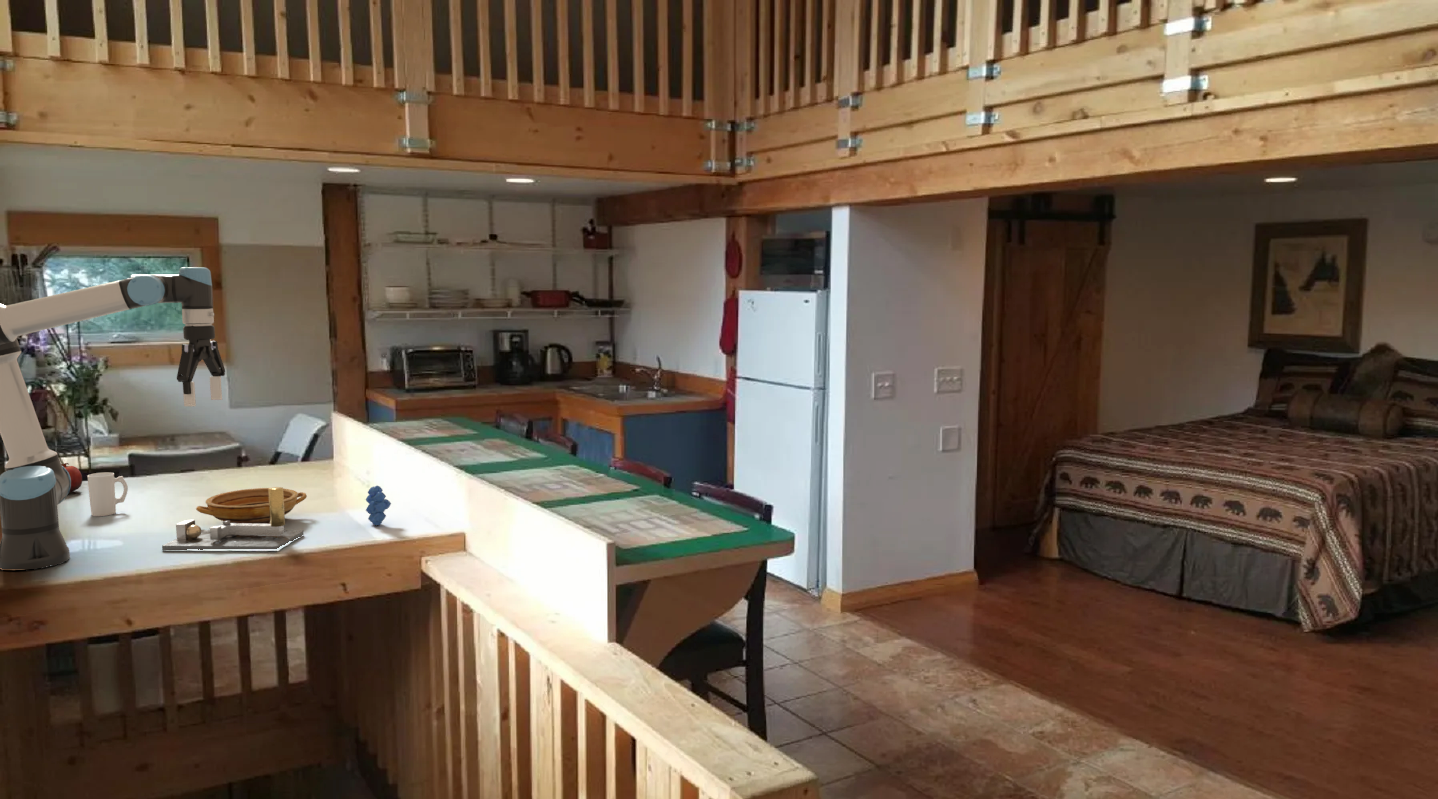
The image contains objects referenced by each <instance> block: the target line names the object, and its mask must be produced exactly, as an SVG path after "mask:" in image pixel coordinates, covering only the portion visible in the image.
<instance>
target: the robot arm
mask: <svg viewBox="0 0 1438 799" xmlns="http://www.w3.org/2000/svg"><path fill="white" fill-rule="evenodd" d="M178 270H179V271H178V274H151V273H150V274H147V273H139V274H131V275H129V276H128V278H124V279H121V280H114V281H110V282H105V283H100V284H98V285H93V286H88V287H84V288H83V287H82V288H80V289H75V290H71V291H66V292H61V293H57V294H52V295H49V296H43V297H40V298H35V299H31V300H25V301H21V302H16V303H12V304H8V305H4V304H2V303H0V437H1V440H2V441H3V445H4V448H5V450H6V453H7V456H8V461H7V462H6V464H5V465H4V468H5V471H4V472H2V473H1V474H0V525H1V534H2V535H1V536H2V537H1V540H0V568H2V569H34V570H37V569H36V568H41V569H43V568H42V567H46V566H50V565H54V566H58V565H61V564H63V563H65V562H64V561H66V562H67V561H69V560H70V559H71V554H70V548H69V547H68V545H67V542H66V540H65V538H64V536H63V534H62V532H61V530H60V525H59V524H60V523H59V513H58V512H59V511H58V505H59V504H61V503H62V502H63V501H64V500H65V499H66V498H67V496H68V494H70V492H69V490H70V487H71V478H70V475H69V473H68V471H67V470H66V469H65V468H64V467H63V466H62V465H61V464H62V463H61V460H60V457H59V454H58V453H57V452H56V450H55V451H54V450H52V449H50V448H49V446H48V444H47V442H46V438H45V436H44V434H43V430H42V427H41V424H40V422H39V419H38V416H37V413H36V411H35V407H34V405H33V401H32V399H31V395H30V394H29V391H28V388H27V385H26V381H25V379H24V377H23V374H22V371H21V367H20V364H19V363H18V358H19V356H20V355H21V354H22V350H21V346H20V343H19V341H18V339H17V338H18V337H20V336H24V335H27V334H32V333H36V332H40V331H45V330H49V329H53V328H58V327H62V326H65V325H70V324H75V323H79V322H82V321H86V320H92V319H95V318H99V317H103V316H104V317H105V316H107V315H111V314H116V313H120V312H125V311H128V310H132V309H138V308H142V307H146V306H152V305H156V304H168V303H169V304H171V303H173V304H174V303H175V304H177V303H178V304H179V303H180V305H181V315H182V316H181V317H182V324H184V326H183V327H182V332H183V333H182V334H183V339H184V340H185V341H188V343H186V344H185V343H183V344H182V345H181V355H180V360H179V365H178V370H177V374H176V380H177V382H179V383H182V392H183V394H182V395H183V406H184V407H196V406H197V404H196V387H195V381H193V379H194V377H195V375H196V374H195V373H196V370H197V368H198V365H199V363H200V362H202V361H203V362H204V364H205V366H206V367H207V369H208V372H209V373H210V376H209V386H210V390H209V391H210V400H211V401H212V400H214V401H219V400H220V401H222V400H223V395H222V394H223V392H222V378H221V377H224V376H225V375H226V368H225V365H224V362H223V359H222V356H221V353H220V350H219V344H218V341H216V340H214V339H216V333H215V332H216V328H215V326H214V325H213V324H214V323H215V321H214V320H215V319H214V318H215V313H214V296H213V295H214V294H213V282H212V273H211V270H210V269H209V268H208V267H203V266H202V267H199V266H198V267H197V266H193V267H190V266H189V267H188V266H187V267H185V266H183V267H180V268H179V269H178ZM69 558H70V559H69ZM68 559H69V560H68ZM62 562H63V563H62ZM60 563H61V564H60ZM57 564H58V565H57ZM50 567H51V566H50ZM46 568H47V567H46Z"/></svg>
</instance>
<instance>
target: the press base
mask: <svg viewBox="0 0 1438 799" xmlns="http://www.w3.org/2000/svg"><path fill="white" fill-rule="evenodd" d="M175 532H176V533H175V534H176V538H175V539H173V540H171V541H169V542H167V543H165V544H162V550H187V549H198V550H199V549H200V550H203V549H277V548H279V547H280V546H282V545H285V544H286V543H288V542H289V541H293V540H294V539H296V538H298V537H301V536H302V535H305V534H304V530H285V529H284V533H283V534H281V535H227V536H225V537H223V538H221V539H219V540H210V529H201V527H200V526H199V525H197V524H196V519H185V520H182V521H180V522H177V523H176V524H175ZM301 538H302V537H301ZM162 550H161V551H162Z"/></svg>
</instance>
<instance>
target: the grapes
mask: <svg viewBox="0 0 1438 799" xmlns="http://www.w3.org/2000/svg"><path fill="white" fill-rule="evenodd" d="M367 494H368V495H367V497H366V499H365V501H366V502H367V503H368V506H367V507H366V509H365V511H366V513H367V514H369V516H368V518H367V519H368V521H369V522H370V523H372V524H373V525H374V526H375V525H379V526H381V524H382V523H383V522H384V520H385V518H386V517H387V515H386V513H385V512H386V510H388V509H389V508H390V506H391V505H392V503H391V501H390V500H388V499H387V498H386V497H387V496H386V495H385V493H384V492H383V488H382V487H381V486H379V485H375V486H371V487H370V488H369V489H368V491H367Z"/></svg>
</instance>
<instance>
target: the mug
mask: <svg viewBox="0 0 1438 799" xmlns="http://www.w3.org/2000/svg"><path fill="white" fill-rule="evenodd" d="M86 476H87V485H88V494H89V495H88V496H89V504H90V505H89V506H90V512H91V516H93V517H107V516H111V515H114V514H116V512H117V508H116V507H117V506H116V505H118V504H119V503H124V502H125V500H126V497H127V494H128V490H129V487H128V484H127V481H126V480H125V478H124V476H123V475H121V476H120V475H119V476H118V477H115V473H114V472H96V473H91V474H88V475H86ZM117 482H119V483H120V484H122V486H123V490H122V491H123V493H122V494H121V496H119V497H116V492H115V491H116V490H115V488H116V486H115V484H116V483H117Z"/></svg>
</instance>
